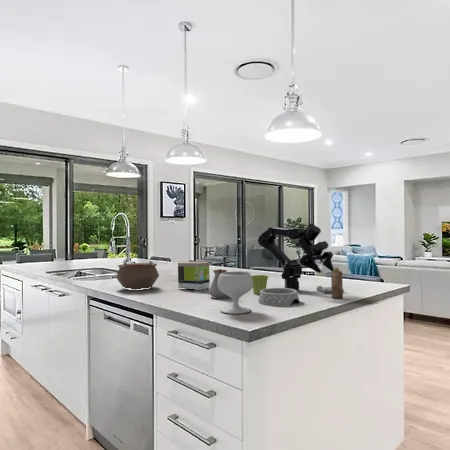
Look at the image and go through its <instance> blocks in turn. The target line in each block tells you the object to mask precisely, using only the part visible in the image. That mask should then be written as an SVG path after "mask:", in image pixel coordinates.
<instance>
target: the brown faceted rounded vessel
mask: <svg viewBox="0 0 450 450" xmlns="http://www.w3.org/2000/svg"><path fill="white" fill-rule="evenodd" d="M157 265H158V264H157V263H153V261H152V260H149V262H135V263H133V262H132V263H127V260H126V259H124V260H123V261H122V264H119V265H118V264H117V267H118V268H119V269H118V271H117V273H116V276H115V278H116V280H117V281H118V283H119V285H121V286H122V288H123V287H125V288H131V289H141V288H149V287H151V288H152V287H153V286H154V284H155V283H156V281H157V280H158V278H159V277H160V274H159V272H158V269H157V268H156V267H157Z"/></svg>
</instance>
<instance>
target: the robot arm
mask: <svg viewBox="0 0 450 450" xmlns="http://www.w3.org/2000/svg"><path fill="white" fill-rule="evenodd" d="M321 232H322V230H321V228H320V227H318V226H317V225H315V224H314V223H309V224H308V225H307V227H306V228H302V227H298V228H297V227H295V228H285V227H284V228H283V227H277V226H270V227H268V228H267V230H265V231H264V232H263V233H261V234H260V235H259V236H258V238H257V243H258V245H259V246H261V247H262V248H263V249H266V250H268V251H269V252H270V253H271V254H272V256H274V258H275V259H276V260H277V261H278V262H279V263H280V264H281V265H282V268H283V272H282V273H281V278H282V280H284V288H289V289H294V290H296V291H297V292H299V291H300V282H299V279H300V278H301V276H302V273H303V267H306V268H308V269H310V270H312V271H315V272H316V273H319V274H320V273H322V270H321V269H320V267H319V266H318V264H317V262H316V261H319V262H320V263H321V264H322V265H323V266H325V268H327V269H328V270H330V271H334V269H335V267H334V266H333V262H332V258H333V256H334V253H333V252H332V251H325V252H323V251H324V250H325V249H326V250H327V249H328V248H329V243H328V242H327V241H326V240H324V241H319V242H317V243H315V244H314V243H313V242H314V241H315V240H316V239H317V237H318V236H319V235H320V233H321ZM277 236H283V237H288V238H289V239H290V240H297V241H295V248H301V249H302V251H303V252H302V253H303V255H302V256H301V257H300V259H299V262H298V261H297V259H291V258H289V257H288V255H286V254H285V253H284V251H282V250H281V248H280V247H279V246H277V244H276V239H277ZM321 254H322V255H321ZM302 266H303V267H302Z"/></svg>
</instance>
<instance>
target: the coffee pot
mask: <svg viewBox="0 0 450 450" xmlns="http://www.w3.org/2000/svg"><path fill="white" fill-rule="evenodd" d="M212 271H213V274H214V277H213V280H212V282H211V284H210V288H209V289H208V294H209V295H210V296H211V297H212V298H213V297H215V298H214V299H228V298H230V297H229V296H228V295H226V294H224V293H223V292H221V291H220V290H219V288H218V284H217V283H218V278H219V275H220V274H221V273H223V272H228V270H227V269H221V268H220V269H214V270H213V269H212ZM227 297H228V298H227Z"/></svg>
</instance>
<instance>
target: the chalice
mask: <svg viewBox="0 0 450 450" xmlns="http://www.w3.org/2000/svg"><path fill="white" fill-rule="evenodd" d="M251 276H252V275H251V273H250V272H248V271H226V272H223V273H221V274H220V275H219V278H218V283H217V284H218V288H219V290H220V291H221V292H223V293H224V294H226V295H228V296H229V297H228V298H230V299H232V303H233V304H232V306H226V307H224V308H221V309H219V311H220V312H221V313H224V314H229V315H237V314H240V315H241V314H245V313H250V312H251V311H252V309H251V308H249V307H247V306H240V305H239V300H240V298H242V297H243V296H245V294H248V293H249V292H251V290H253V280H252V277H251Z"/></svg>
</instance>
